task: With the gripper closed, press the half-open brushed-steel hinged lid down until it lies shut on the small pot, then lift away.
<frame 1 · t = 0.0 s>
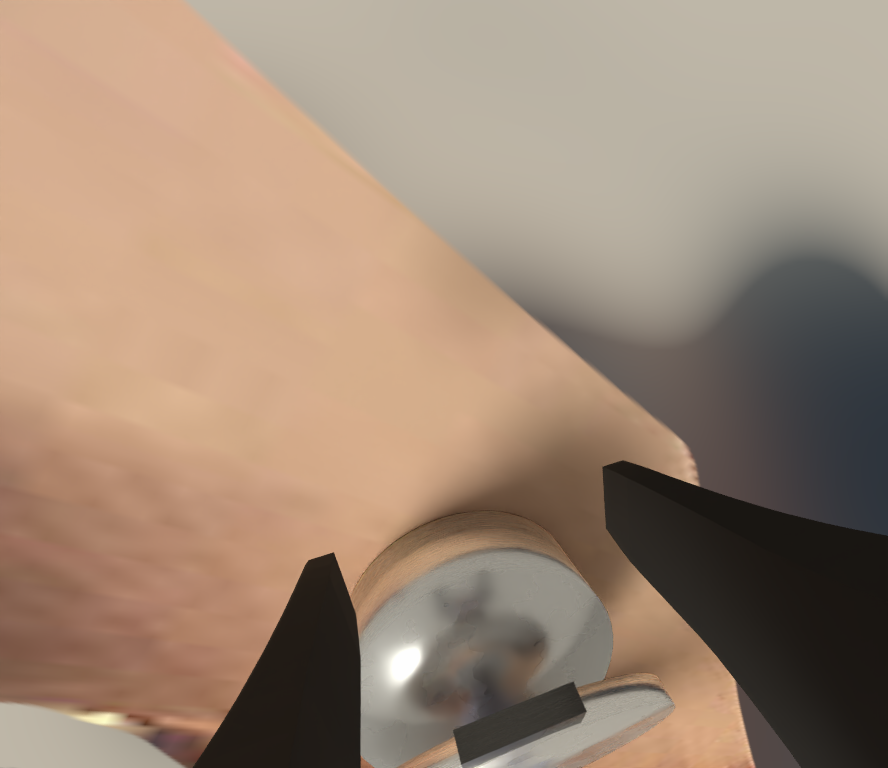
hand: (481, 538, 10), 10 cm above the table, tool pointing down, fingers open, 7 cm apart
pot: (463, 611, 25), on the table
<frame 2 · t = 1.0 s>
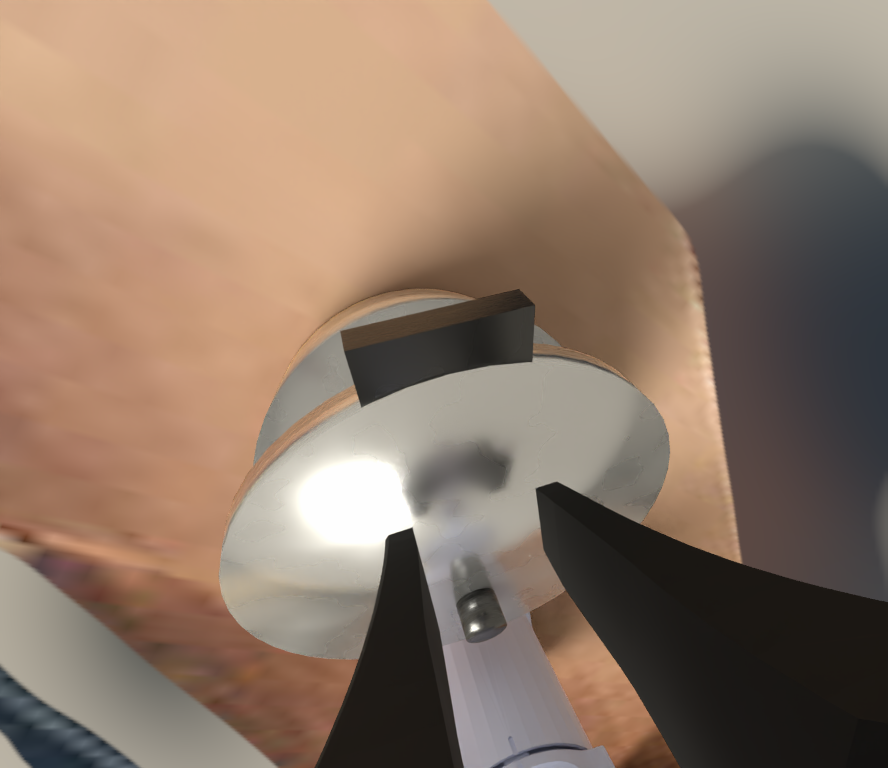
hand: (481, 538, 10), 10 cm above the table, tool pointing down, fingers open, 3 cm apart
pot: (421, 430, 21), on the table
lid: (469, 542, 13), point 8 cm above the table, hinge at 19.0°
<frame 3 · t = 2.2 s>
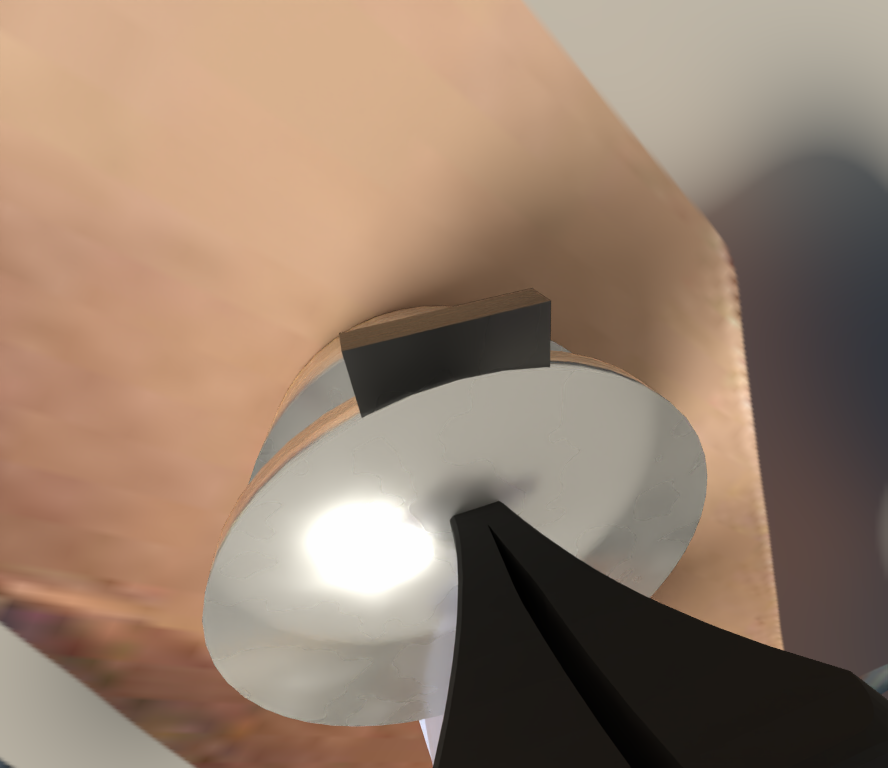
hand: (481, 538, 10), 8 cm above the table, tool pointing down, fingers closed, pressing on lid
pot: (432, 461, 19), on the table
lid: (486, 582, 12), point 8 cm above the table, hinge at 13.2°, touching gripper
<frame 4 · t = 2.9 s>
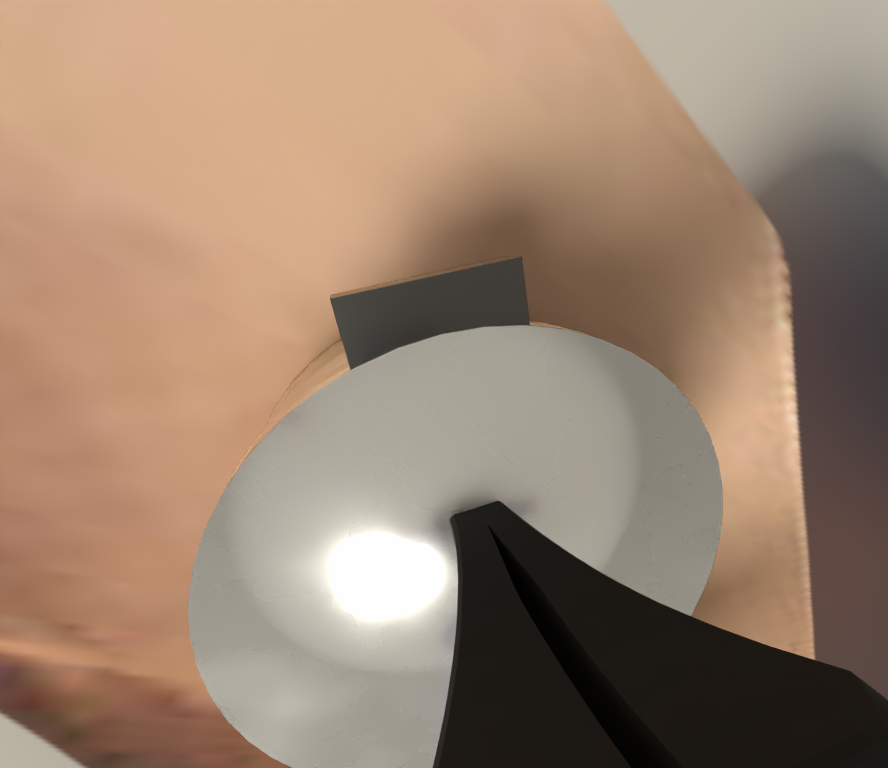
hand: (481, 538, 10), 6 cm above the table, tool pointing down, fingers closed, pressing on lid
pot: (444, 484, 16), on the table
lid: (491, 581, 11), point 6 cm above the table, hinge at -0.1°, touching gripper
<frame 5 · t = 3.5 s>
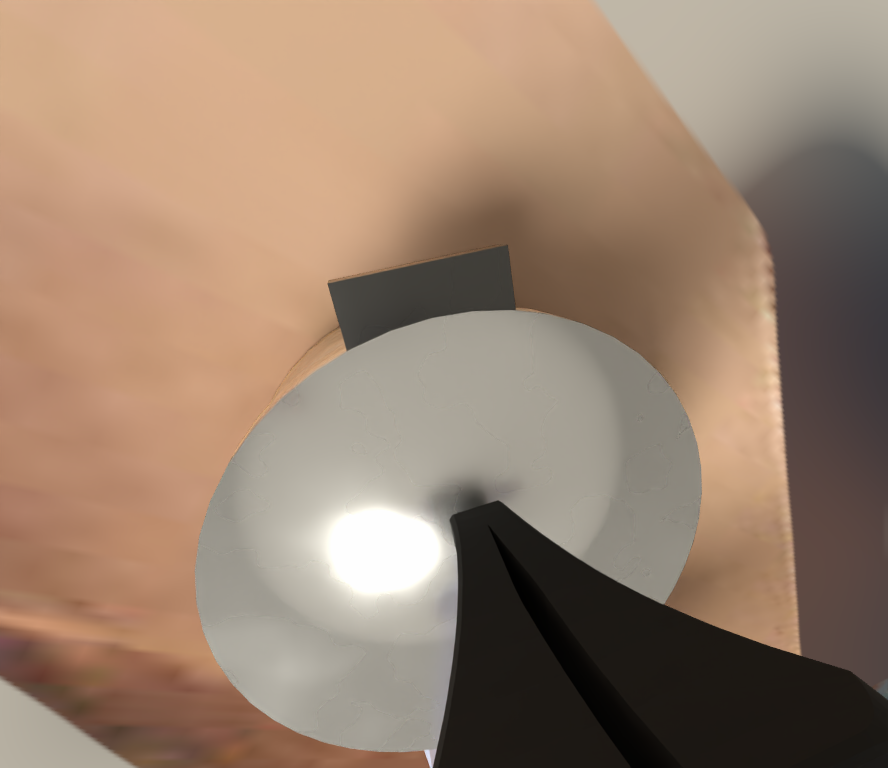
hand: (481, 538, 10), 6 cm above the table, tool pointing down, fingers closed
pot: (438, 468, 17), on the table
lid: (480, 554, 11), point 6 cm above the table, hinge at -0.1°
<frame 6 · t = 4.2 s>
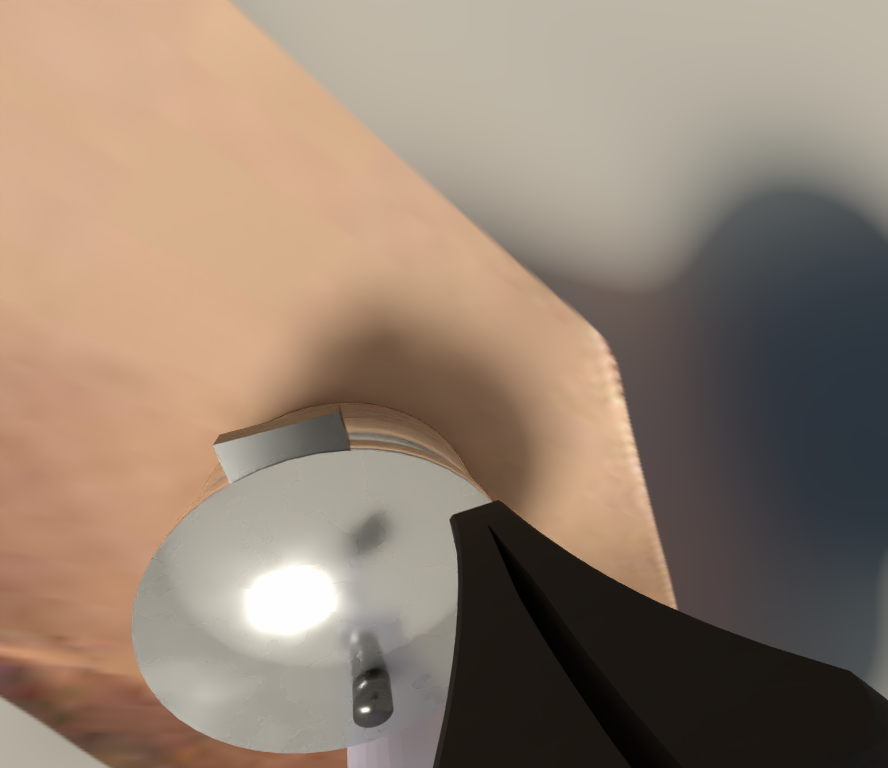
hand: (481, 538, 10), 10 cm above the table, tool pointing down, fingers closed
pot: (345, 528, 21), on the table
lid: (343, 610, 16), point 6 cm above the table, hinge at -0.1°
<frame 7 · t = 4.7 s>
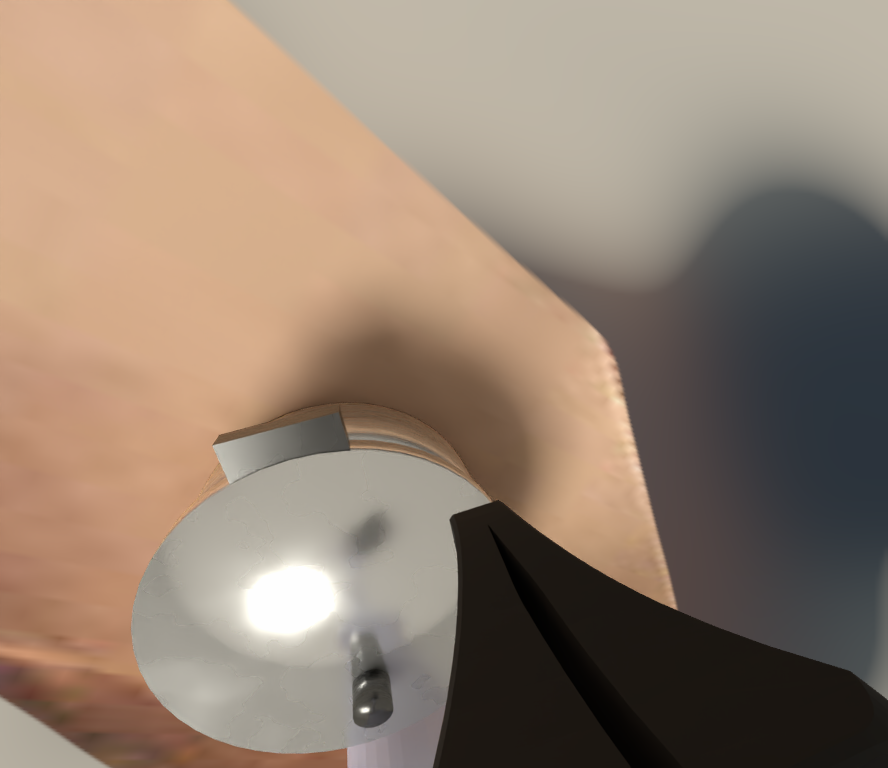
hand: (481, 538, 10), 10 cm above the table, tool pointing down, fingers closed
pot: (345, 528, 21), on the table
lid: (343, 610, 16), point 6 cm above the table, hinge at -0.1°
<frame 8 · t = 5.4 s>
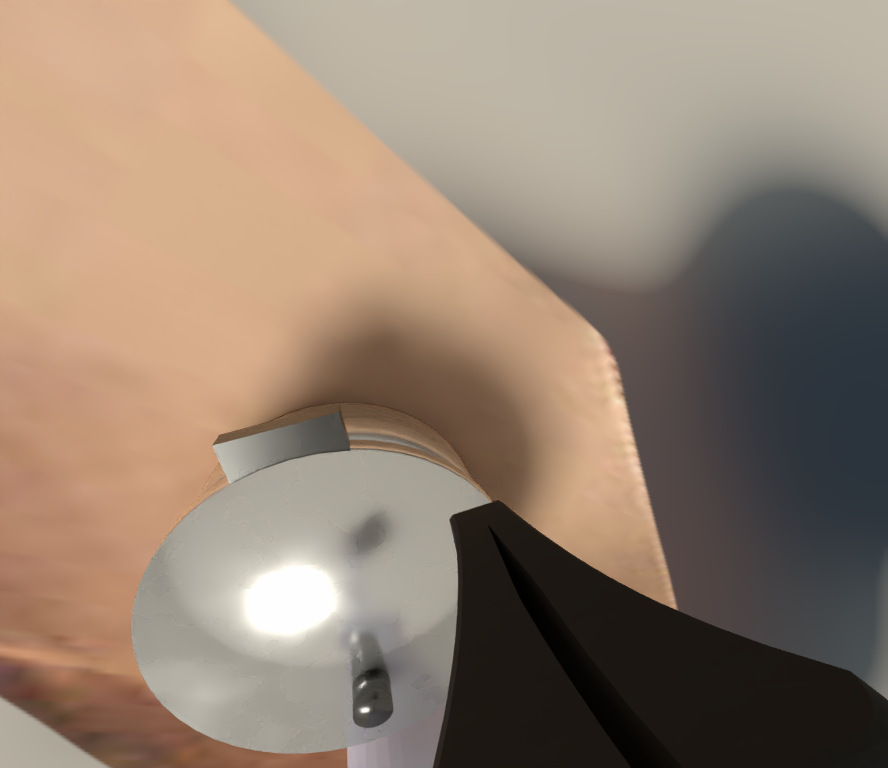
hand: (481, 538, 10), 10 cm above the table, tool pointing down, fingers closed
pot: (345, 528, 21), on the table
lid: (343, 610, 16), point 6 cm above the table, hinge at -0.1°
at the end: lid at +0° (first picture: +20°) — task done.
